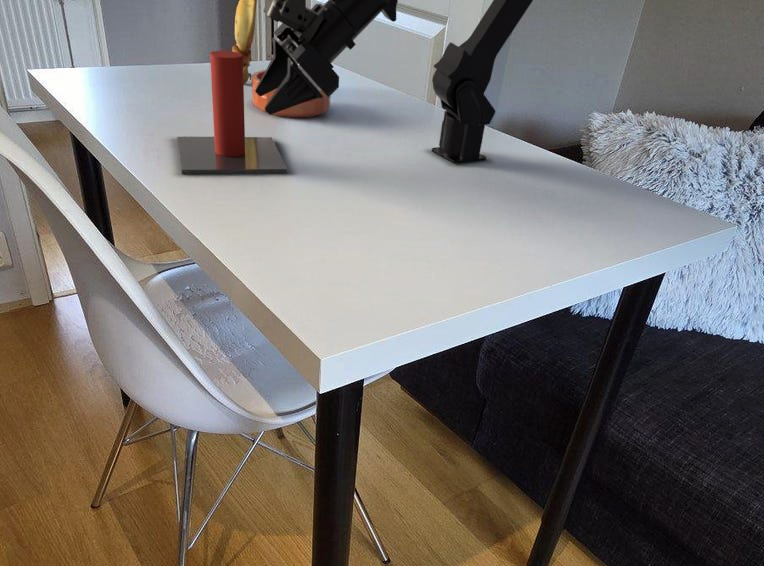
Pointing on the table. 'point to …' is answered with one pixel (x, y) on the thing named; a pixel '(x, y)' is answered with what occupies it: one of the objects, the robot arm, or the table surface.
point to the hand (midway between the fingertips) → (261, 102)
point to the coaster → (204, 160)
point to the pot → (300, 110)
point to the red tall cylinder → (228, 103)
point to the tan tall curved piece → (245, 32)
